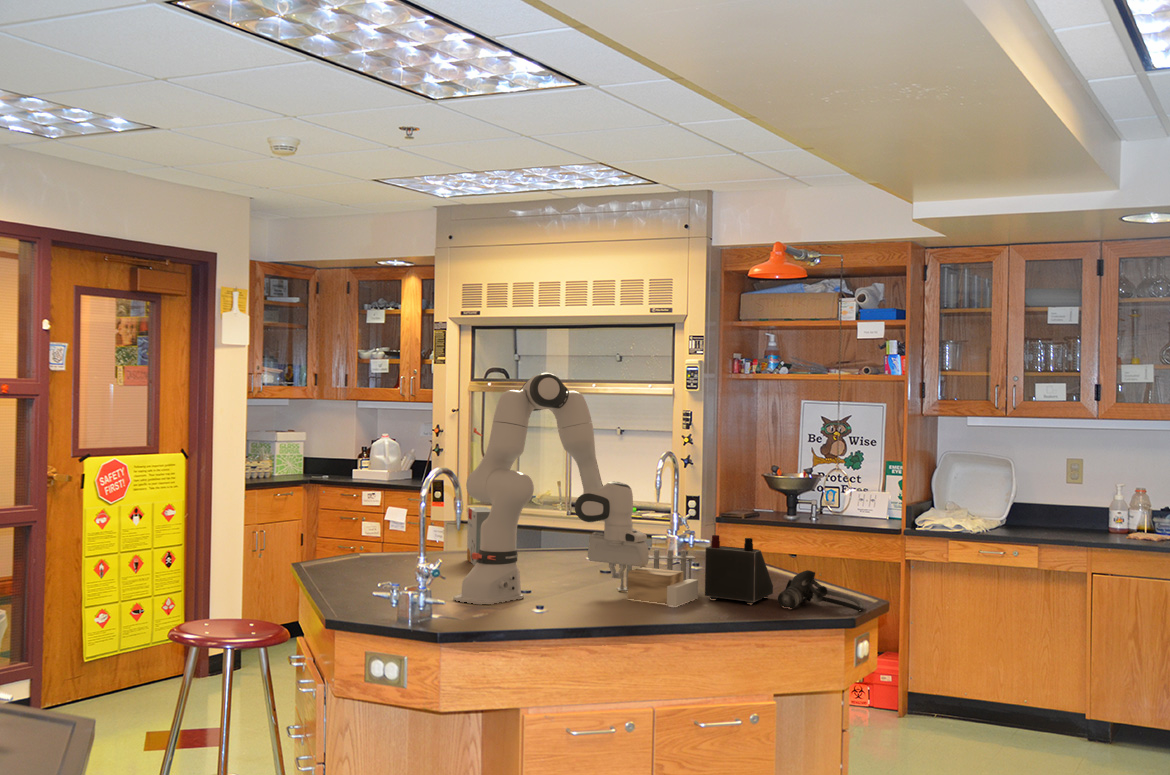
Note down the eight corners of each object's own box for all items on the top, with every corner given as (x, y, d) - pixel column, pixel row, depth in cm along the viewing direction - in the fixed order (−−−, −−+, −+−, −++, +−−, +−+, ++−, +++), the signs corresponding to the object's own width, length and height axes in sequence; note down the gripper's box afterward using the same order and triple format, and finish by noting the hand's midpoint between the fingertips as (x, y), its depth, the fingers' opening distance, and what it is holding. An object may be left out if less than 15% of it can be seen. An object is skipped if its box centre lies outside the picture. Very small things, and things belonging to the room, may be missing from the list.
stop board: (676, 607, 303) (676, 587, 304) (666, 606, 305) (667, 586, 305) (697, 599, 317) (698, 579, 317) (688, 598, 319) (689, 578, 319)
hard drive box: (466, 560, 387) (467, 507, 388) (486, 559, 390) (487, 506, 390) (474, 566, 373) (475, 511, 373) (495, 565, 375) (496, 511, 375)
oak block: (669, 606, 306) (669, 576, 307) (627, 601, 313) (627, 571, 313) (683, 601, 315) (683, 571, 315) (642, 596, 322) (642, 567, 322)
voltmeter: (773, 598, 322) (774, 534, 322) (754, 606, 308) (755, 539, 308) (725, 592, 330) (726, 530, 331) (704, 600, 316) (705, 535, 316)
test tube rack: (692, 589, 335) (693, 548, 335) (695, 592, 330) (696, 550, 330) (616, 589, 332) (617, 548, 332) (618, 592, 327) (619, 550, 327)
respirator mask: (781, 588, 323) (812, 553, 320) (834, 637, 318) (867, 602, 314) (770, 599, 305) (803, 562, 301) (827, 651, 299) (861, 614, 296)
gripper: (584, 531, 325) (583, 575, 324) (642, 537, 314) (641, 582, 314) (594, 530, 330) (593, 573, 330) (651, 535, 320) (650, 580, 319)
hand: (617, 578), depth 322 cm, fingers closed
